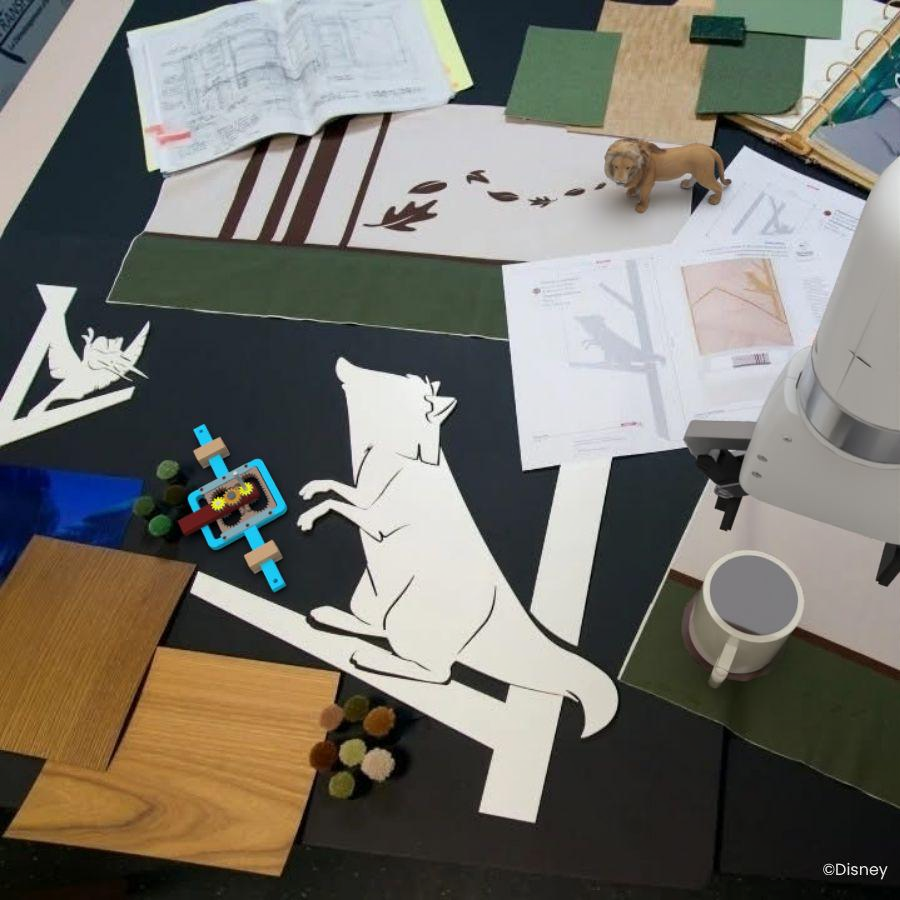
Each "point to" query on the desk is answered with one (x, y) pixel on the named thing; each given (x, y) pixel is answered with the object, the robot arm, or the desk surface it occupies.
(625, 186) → the lion figurine
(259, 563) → the gear mechanism
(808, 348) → the robot arm
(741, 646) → the mug
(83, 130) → the desk surface
